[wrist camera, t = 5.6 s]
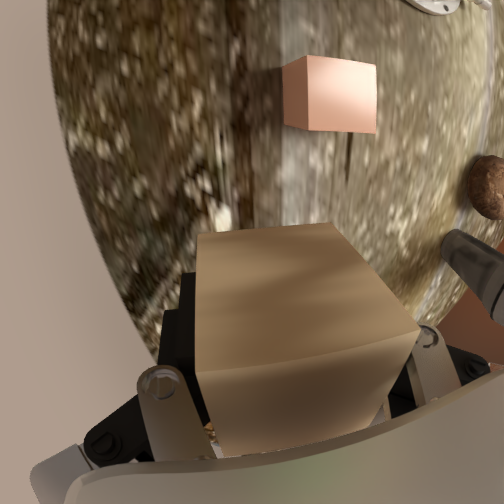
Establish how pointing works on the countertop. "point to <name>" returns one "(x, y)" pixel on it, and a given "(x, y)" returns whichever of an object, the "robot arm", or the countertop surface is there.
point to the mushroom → (487, 187)
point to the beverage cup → (477, 269)
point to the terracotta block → (330, 94)
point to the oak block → (293, 336)
